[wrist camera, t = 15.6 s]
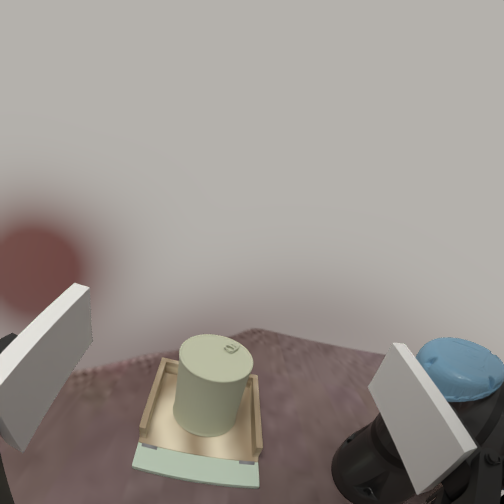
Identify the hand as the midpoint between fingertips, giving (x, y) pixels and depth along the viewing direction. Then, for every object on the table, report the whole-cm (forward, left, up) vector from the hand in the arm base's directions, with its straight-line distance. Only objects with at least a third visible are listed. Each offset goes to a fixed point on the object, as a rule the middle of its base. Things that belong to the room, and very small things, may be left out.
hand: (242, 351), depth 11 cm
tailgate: (0, -9, -28) cm, 29 cm away
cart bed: (0, -19, -28) cm, 34 cm away
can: (0, -19, -27) cm, 33 cm away
